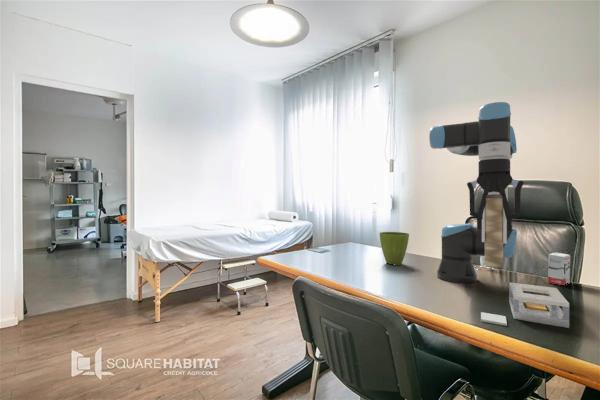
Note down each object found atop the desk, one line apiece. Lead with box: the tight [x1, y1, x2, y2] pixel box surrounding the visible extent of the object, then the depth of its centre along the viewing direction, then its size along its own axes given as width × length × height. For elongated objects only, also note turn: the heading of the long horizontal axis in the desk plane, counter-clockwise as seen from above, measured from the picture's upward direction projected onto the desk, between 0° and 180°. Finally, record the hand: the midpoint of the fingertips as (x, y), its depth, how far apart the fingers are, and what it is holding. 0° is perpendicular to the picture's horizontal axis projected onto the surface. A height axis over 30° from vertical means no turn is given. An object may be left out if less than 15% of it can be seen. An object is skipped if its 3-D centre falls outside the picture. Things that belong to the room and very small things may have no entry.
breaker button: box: [525, 302, 547, 311], centre depth 89 cm, size 5×5×2 cm
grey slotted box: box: [508, 281, 570, 329], centre depth 89 cm, size 12×16×6 cm
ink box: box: [547, 252, 571, 286], centre depth 121 cm, size 8×5×12 cm, turn 123°
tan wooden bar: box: [485, 195, 504, 268], centre depth 84 cm, size 4×4×20 cm
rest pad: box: [480, 311, 508, 327], centre depth 85 cm, size 6×6×1 cm
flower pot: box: [378, 231, 410, 266], centre depth 157 cm, size 15×15×16 cm
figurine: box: [479, 256, 490, 268], centre depth 146 cm, size 9×9×12 cm
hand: (493, 241), depth 84 cm, fingers closed on tan wooden bar, 4 cm apart
